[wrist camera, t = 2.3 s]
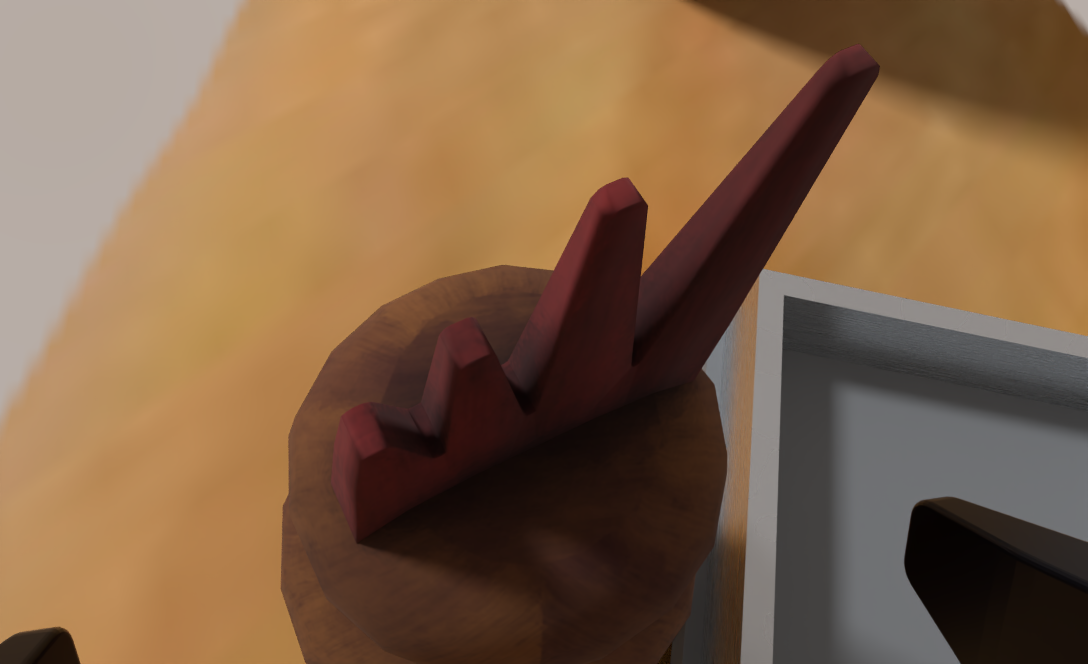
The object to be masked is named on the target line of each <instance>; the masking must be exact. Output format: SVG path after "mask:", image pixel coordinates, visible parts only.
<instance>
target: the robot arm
mask: <svg viewBox="0 0 1088 664" xmlns="http://www.w3.org/2000/svg"><path fill="white" fill-rule="evenodd" d="M904 568H905V572H906V575H907V578H908V580H909V582H910V584H911V586H912V587H913V589H914V591H915V592H916V594H917V595H918V597H919V599H920V600H921V602H922V603H923V605H924V606H925V608H926V610H927V611H928V613H929V614H930V616H931V618H932V619H933V621H934V622H935V624H936V625H937V627H938V629H939V630H940V632H941V633H942V635H943V637H944V638H945V640H946V641H947V643H948V645H949V646H950V648H951V649H952V651H953V652H954V654H955V656H956V657H957V659H958V660H959V662H960V664H1088V542H1086V541H1084V540H1081V539H1078V538H1075V537H1072V536H1069V535H1066V534H1063V533H1060V532H1057V531H1054V530H1051V529H1048V528H1045V527H1042V526H1039V525H1036V524H1033V523H1030V522H1027V521H1024V520H1021V519H1019V518H1016V517H1013V516H1010V515H1007V514H1004V513H1001V512H998V511H995V510H992V509H989V508H986V507H983V506H980V505H977V504H974V503H971V502H968V501H965V500H962V499H959V498H956V497H950V496H946V497H939V498H932V499H925V500H921V501H919V502H917V503H916V504H915V505H914V507H913V509H912V511H911V516H910V523H909V529H908V536H907V542H906V548H905V555H904ZM0 664H80V661H79V657H78V654H77V651H76V648H75V645H74V642H73V639H72V637H71V635H70V633H69V632H68V631H67V630H66V629H64V628H61V627H52V628H46V629H39V630H32V631H25V632H20V633H17V634H15V635H13V636H11V637H9V638H8V639H7V640H5V641H4V642H2V643H1V644H0Z"/></svg>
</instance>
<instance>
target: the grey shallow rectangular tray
mask: <svg viewBox="0 0 1088 664" xmlns="http://www.w3.org/2000/svg"><path fill="white" fill-rule="evenodd" d="M702 369H703V371H704V372H705V373H706V374H707V376H708V377H709V378H710V379H711V381H712V382H713V383H714V384H715V389H716V395H717V400H718V406H719V411H720V417H721V422H722V428H723V433H724V439H725V444H726V450H727V476H726V482H725V488H724V494H723V499H722V505H721V511H720V516H719V522H718V528H717V533H716V539H715V545H714V547H713V549H712V550H711V552H710V553H709V555H708V556H707V558H706V559H705V561H704V562H703V564H702V565H701V567H700V568H699V570H698V571H697V573H696V576H695V584H694V592H693V599H692V607H691V615H690V616H689V618H688V619H687V621H686V622H685V624H684V625H683V626H682V628H681V629H680V631H679V632H678V634H677V635H676V637H675V638H674V640H673V641H672V651H671V662H670V664H960V662H959V660H958V659H957V657H956V656H955V654H954V652H953V651H952V649H951V648H950V646H949V645H948V643H947V641H946V640H945V638H944V637H943V635H942V633H941V632H940V630H939V629H938V627H937V625H936V624H935V622H934V621H933V619H932V618H931V616H930V614H929V613H928V611H927V610H926V608H925V606H924V605H923V603H922V602H921V600H920V599H919V597H918V595H917V594H916V592H915V591H914V589H913V587H912V586H911V584H910V582H909V580H908V578H907V575H906V572H905V568H904V555H905V548H906V542H907V536H908V529H909V523H910V516H911V511H912V509H913V507H914V505H915V504H916V503H917V502H919V501H921V500H925V499H932V498H939V497H946V496H950V497H956V498H959V499H962V500H965V501H968V502H971V503H974V504H977V505H980V506H983V507H986V508H989V509H992V510H995V511H998V512H1001V513H1004V514H1007V515H1010V516H1013V517H1016V518H1019V519H1021V520H1024V521H1027V522H1030V523H1033V524H1036V525H1039V526H1042V527H1045V528H1048V529H1051V530H1054V531H1057V532H1060V533H1063V534H1066V535H1069V536H1072V537H1075V538H1078V539H1081V540H1084V541H1086V542H1088V336H1083V335H1078V334H1074V333H1069V332H1064V331H1059V330H1054V329H1050V328H1045V327H1040V326H1035V325H1030V324H1025V323H1021V322H1016V321H1011V320H1006V319H1001V318H997V317H992V316H987V315H982V314H977V313H973V312H968V311H963V310H958V309H953V308H949V307H944V306H939V305H934V304H929V303H924V302H920V301H915V300H910V299H905V298H900V297H896V296H891V295H886V294H881V293H876V292H872V291H867V290H862V289H857V288H852V287H847V286H843V285H838V284H833V283H828V282H823V281H819V280H814V279H809V278H804V277H799V276H795V275H790V274H785V273H780V272H775V271H770V270H766V269H763V270H762V271H761V273H760V275H759V276H758V278H757V280H756V281H755V283H754V285H753V286H752V288H751V290H750V291H749V293H748V295H747V297H746V298H745V300H744V302H743V303H742V305H741V307H740V308H739V310H738V312H737V313H736V315H735V317H734V318H733V320H732V322H731V323H730V325H729V326H728V328H727V330H726V331H725V333H724V334H723V336H722V337H721V339H720V341H719V342H718V344H717V345H716V347H715V348H714V350H713V352H712V353H711V355H710V356H709V358H708V359H707V361H706V363H705V364H704V366H703V367H702Z"/></svg>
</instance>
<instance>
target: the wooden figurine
mask: <svg viewBox="0 0 1088 664" xmlns="http://www.w3.org/2000/svg"><path fill="white" fill-rule="evenodd" d="M879 69H880V66H879V65H878V63H877V62H876V61H875V60H874V59H873V58H872V57H871V56H870V55H869V54H868V53H867V51H866V50H865V49H864V48H863V47H862V46H861V45H860V44H856V45H854V46H851V47H849V48H846V49H844V50H841V51H839V52H837V53H836V54H835V55H833V56H832V57H831V58H829V59H828V60H827V61H826V63H825V64H824V65H823V66H822V67H821V68H820V69H819V70H818V71H817V72H816V73H815V74H814V76H813V77H812V78H811V79H810V80H809V81H808V83H807V84H806V85H805V86H804V87H803V88H802V90H801V91H800V92H799V93H798V94H797V95H796V97H795V98H794V99H793V100H792V101H791V102H790V103H789V105H788V106H787V107H786V108H785V109H784V110H783V112H782V113H781V114H780V115H779V116H778V117H777V119H776V120H775V121H774V122H773V123H772V124H771V126H770V127H769V128H768V129H767V130H766V131H765V133H764V134H763V135H762V136H761V137H760V138H759V140H758V141H757V142H756V143H755V144H754V145H753V147H752V148H751V149H750V150H749V151H748V152H747V154H746V155H745V156H744V157H743V158H742V159H741V161H740V162H739V163H738V164H737V165H736V166H735V168H734V169H733V170H732V171H731V172H730V173H729V175H728V176H727V177H726V178H725V179H724V180H723V182H722V183H721V184H720V185H719V186H718V187H717V189H716V190H715V191H714V192H713V193H712V194H711V195H710V197H709V198H708V199H707V200H706V201H705V202H704V204H703V205H702V206H701V207H700V208H699V209H698V211H697V212H696V213H695V214H694V215H693V216H692V218H691V219H690V220H689V221H688V222H687V223H686V225H685V226H684V227H683V228H682V229H681V230H680V232H679V233H678V234H677V235H676V236H675V237H674V239H673V240H672V241H671V242H670V243H669V244H668V246H667V247H666V248H665V249H664V250H663V251H662V253H661V254H660V255H659V256H658V257H657V258H656V260H655V261H654V262H653V263H652V264H651V265H650V267H649V268H648V269H647V270H646V271H645V272H644V274H643V275H642V276H641V268H642V258H643V249H644V239H645V230H646V220H647V211H648V205H647V203H646V202H645V201H644V199H643V198H642V196H641V195H640V193H639V192H638V191H637V189H636V188H635V186H634V185H633V183H632V182H631V181H630V179H629V178H621V179H619V180H616V181H614V182H611V183H609V184H606V185H605V186H603V187H602V188H600V189H599V190H598V191H597V192H596V193H595V194H594V195H593V196H592V197H591V198H590V200H589V202H588V204H587V206H586V208H585V210H584V212H583V214H582V216H581V218H580V220H579V222H578V224H577V226H576V228H575V230H574V232H573V234H572V236H571V238H570V240H569V242H568V244H567V246H566V248H565V250H564V252H563V254H562V256H561V258H560V260H559V262H558V263H557V265H556V267H555V269H554V271H552V270H543V269H535V268H526V267H517V266H508V265H500V266H495V267H490V268H486V269H481V270H477V271H472V272H467V273H463V274H458V275H454V276H449V277H444V278H440V279H437V280H435V281H433V282H431V283H429V284H426V285H424V286H422V287H420V288H418V289H416V290H414V291H412V292H410V293H408V294H406V295H403V296H401V297H399V298H397V299H395V300H393V301H391V302H389V303H387V304H385V305H383V306H381V307H380V308H379V309H378V310H377V311H376V312H374V313H373V314H372V315H371V316H370V317H369V318H368V319H367V320H366V321H365V322H363V323H362V324H361V325H360V326H359V327H358V328H357V329H356V330H355V331H354V332H352V333H351V334H350V335H349V336H348V337H347V338H346V339H345V340H344V341H343V342H342V343H340V344H339V345H338V346H337V347H336V348H335V349H334V350H333V351H332V352H331V354H330V355H329V357H328V359H327V361H326V363H325V364H324V366H323V368H322V370H321V372H320V373H319V375H318V377H317V379H316V380H315V382H314V384H313V386H312V388H311V389H310V391H309V393H308V395H307V396H306V398H305V400H304V402H303V404H302V405H301V407H300V409H299V411H298V413H297V414H296V416H295V419H294V422H293V425H292V428H291V430H290V433H289V495H288V497H287V499H286V501H285V503H284V505H283V522H282V563H281V591H282V594H283V597H284V600H285V603H286V606H287V609H288V612H289V615H290V618H291V621H292V624H293V627H294V630H295V633H296V636H297V639H298V642H299V645H300V648H301V651H302V654H303V657H304V660H305V662H306V663H307V664H657V663H658V662H659V660H660V659H661V657H662V656H663V655H664V653H665V652H666V650H667V649H668V647H669V646H670V644H671V643H672V641H673V640H674V638H675V637H676V635H677V634H678V632H679V631H680V629H681V628H682V626H683V625H684V624H685V622H686V621H687V619H688V618H689V616H690V615H691V607H692V599H693V592H694V584H695V576H696V573H697V571H698V570H699V568H700V567H701V565H702V564H703V562H704V561H705V559H706V558H707V556H708V555H709V553H710V552H711V550H712V549H713V547H714V545H715V539H716V533H717V528H718V522H719V516H720V511H721V505H722V499H723V494H724V488H725V482H726V476H727V450H726V444H725V439H724V433H723V428H722V422H721V417H720V411H719V406H718V400H717V395H716V389H715V384H714V383H713V382H712V381H711V379H710V378H709V377H708V376H707V374H706V373H705V372H704V371H703V369H702V367H703V366H704V364H705V363H706V361H707V359H708V358H709V356H710V355H711V353H712V352H713V350H714V348H715V347H716V345H717V344H718V342H719V341H720V339H721V337H722V336H723V334H724V333H725V331H726V330H727V328H728V326H729V325H730V323H731V322H732V320H733V318H734V317H735V315H736V313H737V312H738V310H739V308H740V307H741V305H742V303H743V302H744V300H745V298H746V297H747V295H748V293H749V291H750V290H751V288H752V286H753V285H754V283H755V281H756V280H757V278H758V276H759V275H760V273H761V271H762V270H763V268H764V266H765V265H766V263H767V261H768V260H769V258H770V256H771V255H772V253H773V251H774V250H775V248H776V246H777V244H778V243H779V241H780V239H781V238H782V236H783V234H784V233H785V231H786V229H787V228H788V226H789V224H790V223H791V221H792V219H793V218H794V216H795V214H796V213H797V211H798V209H799V208H800V206H801V204H802V203H803V201H804V199H805V197H806V196H807V194H808V192H809V191H810V189H811V187H812V186H813V184H814V182H815V181H816V179H817V177H818V176H819V174H820V172H821V171H822V169H823V167H824V166H825V164H826V162H827V161H828V159H829V157H830V155H831V154H832V152H833V150H834V149H835V147H836V145H837V144H838V142H839V140H840V139H841V137H842V135H843V134H844V132H845V130H846V129H847V127H848V125H849V124H850V122H851V120H852V119H853V117H854V115H855V114H856V112H857V110H858V108H859V107H860V105H861V103H862V102H863V100H864V98H865V97H866V95H867V93H868V92H869V90H870V88H871V87H872V85H873V83H874V82H875V80H876V78H877V77H878V74H879Z"/></svg>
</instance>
